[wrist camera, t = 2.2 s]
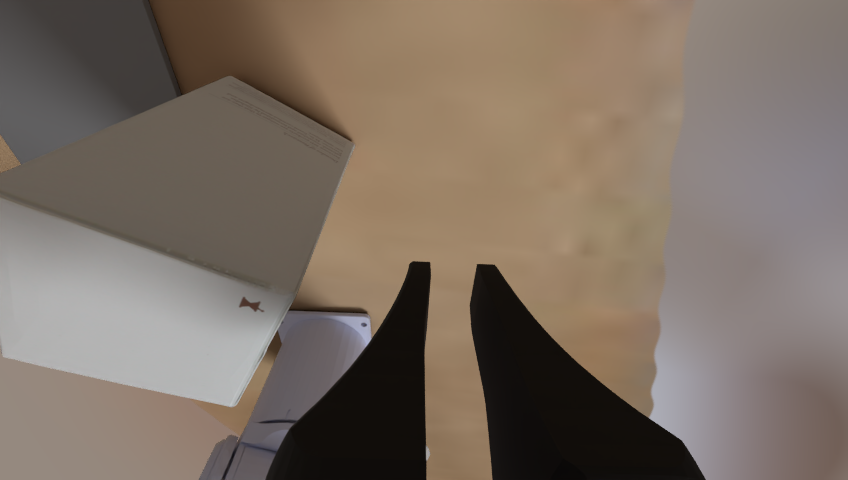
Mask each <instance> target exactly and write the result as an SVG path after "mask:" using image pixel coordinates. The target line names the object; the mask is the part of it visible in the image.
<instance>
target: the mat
mask: <svg viewBox="0 0 848 480" xmlns="http://www.w3.org/2000/svg"><path fill="white" fill-rule="evenodd" d="M180 96H182V95H181V92H180V89H179V86H178V83H177V81H176V78H175V75H174V72H173V69H172V66H171V64H170V61H169V58H168V55H167V52H166V49H165V47H164V44H163V41H162V38H161V35H160V33H159V30H158V27H157V24H156V21H155V18H154V16H153V13H152V10H151V7H150V4H149V1H148V0H0V134H1V136H2V137H3V139H4V140H5V142H6V143H7V145H8V146H9V147H10V149H11V150H12V152H13V153H14V155H15V156H16V158H17V159H18V160H19V162H20V163H21V164H24V163H26V162H28V161H30V160H33V159H35V158H38V157H40V156H43V155H45V154H47V153H50V152H52V151H54V150H56V149H58V148H61V147H63V146H66V145H68V144H70V143H73V142H75V141H77V140H80V139H82V138H84V137H87V136H89V135H91V134H94V133H96V132H98V131H101V130H103V129H105V128H107V127H110V126H112V125H114V124H117V123H119V122H122V121H124V120H126V119H129V118H131V117H133V116H136V115H138V114H140V113H143V112H145V111H147V110H150V109H152V108H154V107H156V106H159V105H161V104H163V103H166V102H168V101H170V100H173V99H175V98H177V97H180Z"/></svg>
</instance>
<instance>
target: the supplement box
mask: <svg viewBox="0 0 848 480" xmlns="http://www.w3.org/2000/svg"><path fill="white" fill-rule="evenodd" d="M354 148H355V144H354V143H353V142H351V141H349V140H347V139H346V138H344V137H342V136H340V135H339V134H337V133H335V132H333V131H331V130H329V129H328V128H326V127H324V126H322V125H320V124H318V123H317V122H315V121H313V120H312V119H310V118H308V117H306V116H304V115H302V114H300V113H299V112H297V111H295V110H293V109H292V108H290V107H288V106H286V105H284V104H282V103H281V102H279V101H277V100H275V99H273V98H272V97H270V96H268V95H266V94H264V93H262V92H260V91H258V90H257V89H255V88H253V87H252V86H250V85H248V84H246V83H244V82H242V81H240V80H238V79H236V78H234V77H232V76H227V77H224V78H222V79H219V80H217V81H215V82H212V83H210V84H207V85H205V86H203V87H200V88H198V89H196V90H193V91H191V92H189V93H187V94H184V95H182V96H180V97H177V98H175V99H173V100H170V101H168V102H166V103H163V104H161V105H159V106H156V107H154V108H152V109H150V110H147V111H145V112H143V113H140V114H138V115H136V116H133V117H131V118H129V119H126V120H124V121H122V122H119V123H117V124H114V125H112V126H110V127H107V128H105V129H103V130H101V131H98V132H96V133H94V134H91V135H89V136H87V137H84V138H82V139H80V140H77V141H75V142H73V143H70V144H68V145H66V146H63V147H61V148H58V149H56V150H54V151H52V152H50V153H47V154H45V155H43V156H40V157H38V158H35V159H33V160H30V161H28V162H26V163H24V164H21V165H19V166H17V167H15V168H12V169H10V170H7V171H5V172H2V173H0V346H1V353H2V356H4V357H5V358H10V359H14V360H19V361H23V362H27V363H31V364H35V365H39V366H43V367H48V368H52V369H57V370H61V371H66V372H70V373H75V374H79V375H84V376H88V377H93V378H98V379H102V380H106V381H111V382H115V383H120V384H124V385H129V386H134V387H139V388H143V389H149V390H153V391H158V392H163V393H167V394H172V395H176V396H182V397H186V398H191V399H196V400H201V401H206V402H210V403H215V404H220V405H224V406H228V407H233V406H235V405H237V403H238V402H239V400H240V398H241V396H242V394H243V393H244V391H245V389H246V387H247V385H248V383H249V381H250V380H251V378H252V376H253V374H254V372H255V370H256V369H257V367H258V365H259V363H260V362H261V360H262V358H263V357H264V355H265V353H266V351H267V348H268V346H269V344H270V342H271V341H272V339H273V337H274V335H275V333H276V331H277V329H278V328H279V326H280V324H281V322H282V321H283V319H284V317H285V315H286V313H287V311H288V310H289V308H290V306H291V304H292V303H293V301H294V299H295V297H296V295H297V293H298V290H299V287H300V285H301V282H302V280H303V277H304V275H305V272H306V269H307V267H308V264H309V262H310V259H311V257H312V254H313V252H314V249H315V247H316V244H317V242H318V239H319V236H320V234H321V231H322V229H323V226H324V224H325V221H326V218H327V216H328V213H329V210H330V208H331V205H332V203H333V200H334V198H335V195H336V193H337V190H338V188H339V185H340V183H341V180H342V177H343V174H344V172H345V169H346V167H347V164H348V162H349V160H350V157H351V154H352V152H353V150H354Z"/></svg>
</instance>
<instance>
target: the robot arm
mask: <svg viewBox="0 0 848 480" xmlns="http://www.w3.org/2000/svg"><path fill="white" fill-rule="evenodd" d="M430 280H431V268H430V262H415V261H413V262H411V263H410V264H409V269H408V272H407V275H406V278H405V281H404V283H403V285H402V288H401V290H400V292H399V294H398V296H397V298H396V300H395V302H394V304H393V306H392V308H391V309H390V311H389V313H388V314H387V316H386V318H385V319H384V321H383V323H382V324H381V326H380V327H379V329H378V331H377V332H376V333H375V335H374V336H373V338H371V324H370V316H369V315H367V314H363V313H337V312H311V311H287V313H286V315H285V317H284V319H283V321H282V322H281V324H280V326H279V328H278V329H277V330H278V333H279V336H280V339H281V343H282V345H281V348H280V350H279V352H278V354H277V357H276V359H275V361H274V364H273V366H272V368H271V371H270V373H269V375H268V377H267V380H266V382H265V384H264V387H263V389H262V391H261V394H260V396H259V398H258V400H257V403H256V405H255V407H254V410H253V412H252V414H251V417H250V419H249V421H248V423H247V426H246V427H245V429H244V431H243V433H242V435H241V436H240V438H239V440H238V437H236V436H233V435H229V436H228V437H227V438H226V440H225V439H224V440H222V441H220V442H218V443H217V444H216V445H215V447H214V449H213V451H212V453H211V455H210V457H209V460H208V461H207V464H206V466H205V468H204V470H203V472H202V474H201V476H200V478H199V480H426V428H425V363H424V350H425V340H426V331H427V319H428V306H429V293H430ZM470 315H471V328H472V335H473V340H474V345H475V351H476V356H477V361H478V366H479V371H480V376H481V381H482V386H483V391H484V397H485V403H486V412H487V422H488V432H489V443H490V454H491V465H492V478H493V480H706V479H705V478H704V476H703V474H702V472H701V471H700V469H699V467H698V465H697V464H696V462H695V460H694V459H693V457H692V455H691V454H690V452H689V451H688V449H687V448H686V446H685V445H684V443H683V442H682V441H681V440H680V439H679V438H677V437H676V436H674V435H673V434H671V433H670V432H668V431H667V430H665V429H664V428H662V427H661V426H659V425H658V424H656V423H655V422H654V421H652V420H650V419H649V418H648V417H646V416H645V415H643V414H642V413H640V412H639V411H637V410H636V409H635V408H633V407H632V406H631V405H629V404H628V403H627V402H625V401H624V400H623V399H621V398H620V397H619V396H617V395H616V394H615V393H613V392H612V391H611V390H610V389H608V388H607V387H606V386H605V385H603V384H602V383H601V382H600V381H598V380H597V379H596V378H595V377H594V376H593V375H591V374H590V373H589V372H588V371H587V370H585V369H584V368H583V367H582V366H581V365H580V364H579V363H577V362H576V361H575V360H574V359H573V358H572V357H571V356H570V355H569V354H568V353H567V352H566V351H565V350H564V349H563V348H562V347H561V346H560V345H559V344H558V343H557V342H556V341H555V340H554V339H553V338H552V337H551V336H550V335H549V334H548V333H547V332H546V331H545V330H544V328H543V327H542V326H541V325H540V324H539V323H538V322H537V320H536V319H535V318H534V317H533V316H532V315H531V313H530V312H529V311H528V310H527V308H526V307H525V306H524V304H523V303H522V302H521V301H520V299H519V298H518V297H517V295H516V294H515V293H514V291H513V290H512V289H511V287H510V286H509V284H508V283H507V282H506V280H505V279H504V277H503V276H502V274H501V273H500V271H499V270H498V268H497V267H496V266H495V265H487V264H477V268H476V273H475V279H474V285H473V290H472V296H471V301H470ZM237 440H238V442H237Z"/></svg>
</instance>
